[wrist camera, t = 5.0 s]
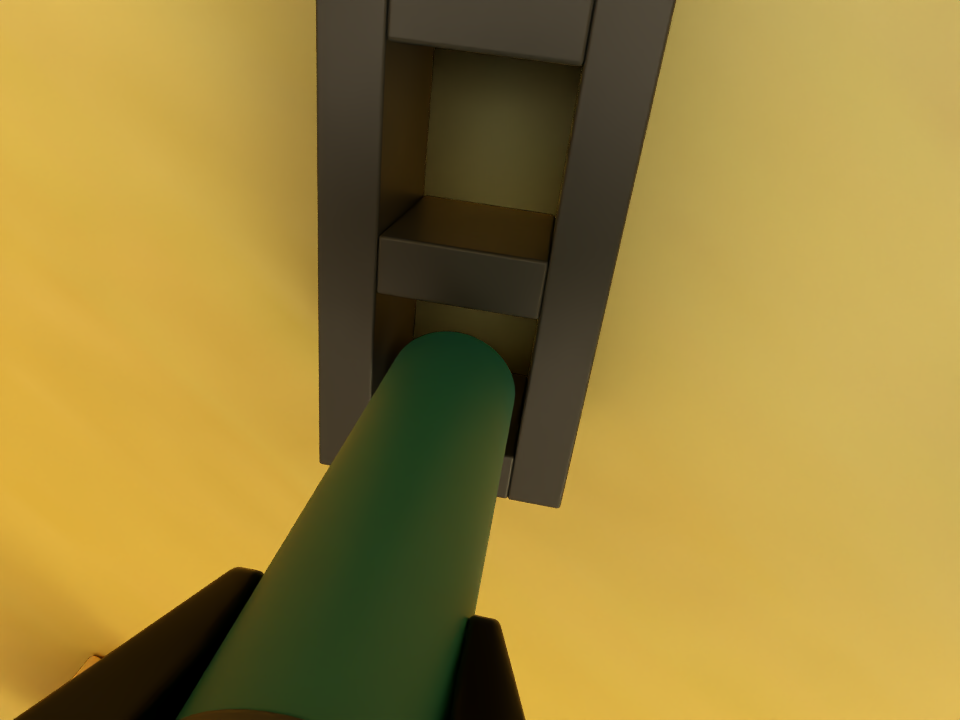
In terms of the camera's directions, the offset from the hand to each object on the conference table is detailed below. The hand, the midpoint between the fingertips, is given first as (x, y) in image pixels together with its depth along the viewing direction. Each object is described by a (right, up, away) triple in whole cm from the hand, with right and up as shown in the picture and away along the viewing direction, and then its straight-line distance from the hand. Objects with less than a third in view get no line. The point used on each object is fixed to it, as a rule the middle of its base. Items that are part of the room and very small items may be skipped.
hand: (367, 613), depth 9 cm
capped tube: (+1, +3, +6) cm, 6 cm away
